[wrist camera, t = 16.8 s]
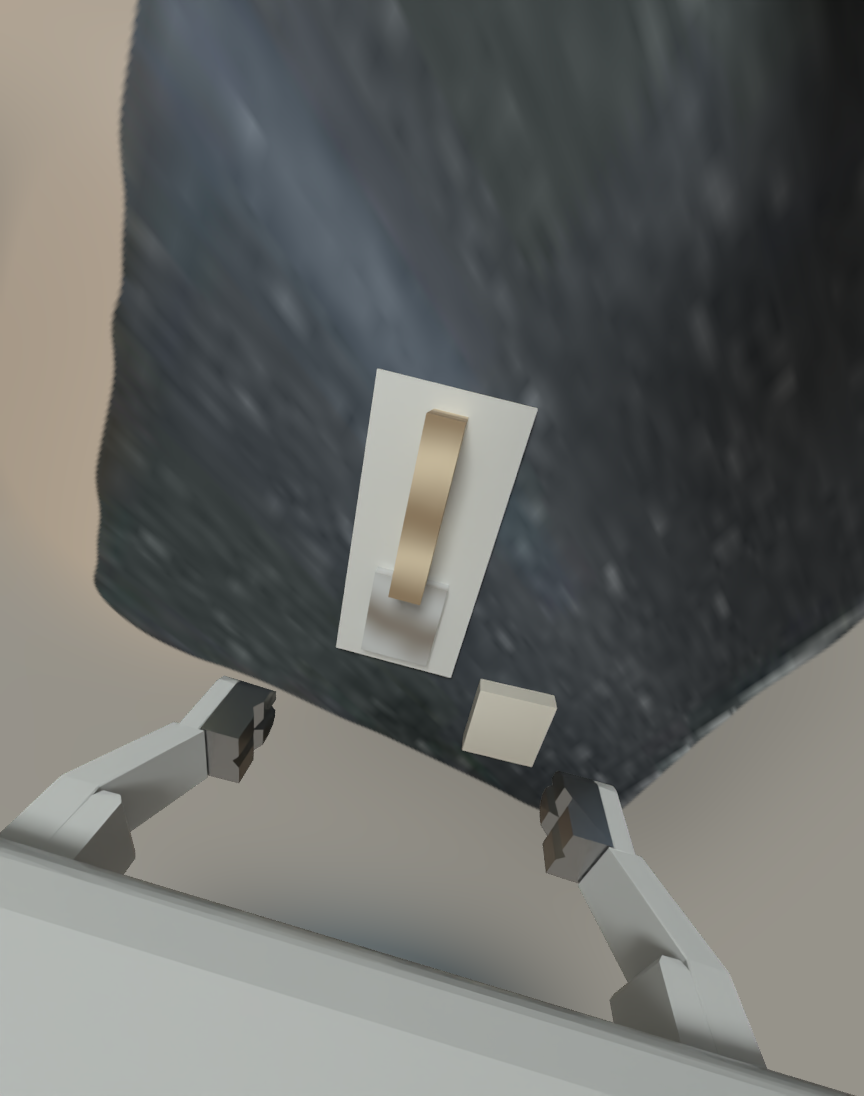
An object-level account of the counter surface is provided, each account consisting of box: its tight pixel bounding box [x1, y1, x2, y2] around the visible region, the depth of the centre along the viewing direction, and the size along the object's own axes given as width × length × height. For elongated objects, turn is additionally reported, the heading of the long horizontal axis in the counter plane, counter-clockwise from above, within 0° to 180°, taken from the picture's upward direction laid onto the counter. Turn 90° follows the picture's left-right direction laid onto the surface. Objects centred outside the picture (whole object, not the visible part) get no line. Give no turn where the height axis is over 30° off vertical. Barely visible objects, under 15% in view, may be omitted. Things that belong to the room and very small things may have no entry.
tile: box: [462, 679, 557, 767], centre depth 37 cm, size 2×7×8 cm
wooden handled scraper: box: [361, 409, 469, 666], centre depth 28 cm, size 21×6×4 cm, turn 167°
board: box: [336, 369, 538, 678], centre depth 30 cm, size 24×11×1 cm, turn 167°
